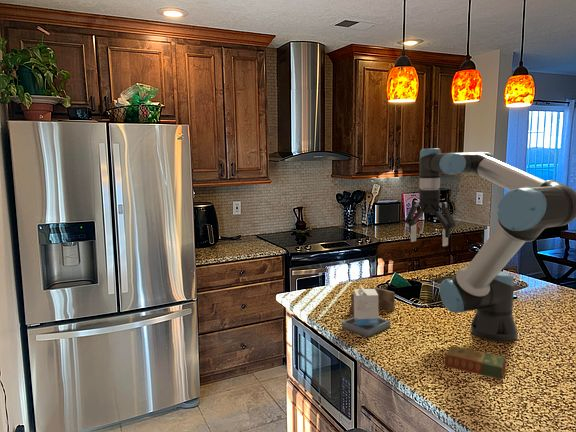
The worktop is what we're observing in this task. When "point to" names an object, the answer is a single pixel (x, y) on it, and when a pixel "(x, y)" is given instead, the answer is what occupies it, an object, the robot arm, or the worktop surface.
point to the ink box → (366, 307)
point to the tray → (365, 327)
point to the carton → (475, 362)
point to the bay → (380, 299)
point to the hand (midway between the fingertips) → (428, 243)
